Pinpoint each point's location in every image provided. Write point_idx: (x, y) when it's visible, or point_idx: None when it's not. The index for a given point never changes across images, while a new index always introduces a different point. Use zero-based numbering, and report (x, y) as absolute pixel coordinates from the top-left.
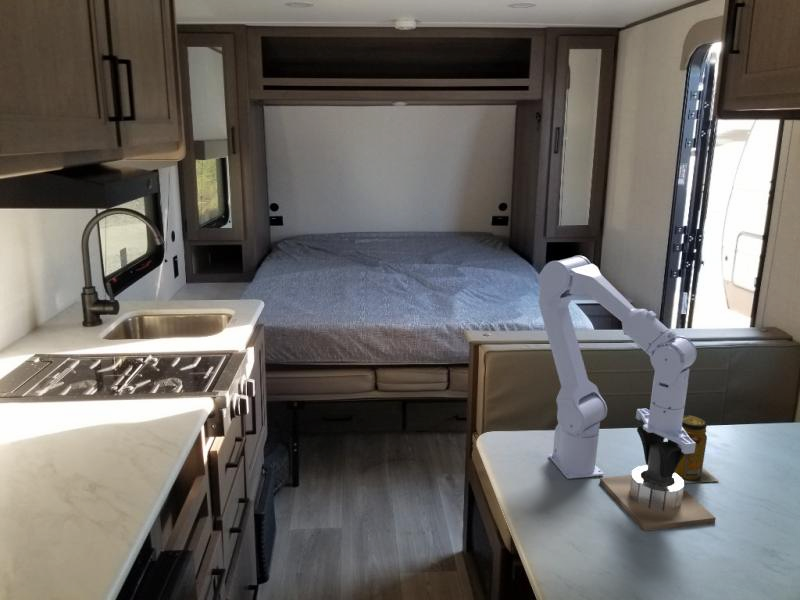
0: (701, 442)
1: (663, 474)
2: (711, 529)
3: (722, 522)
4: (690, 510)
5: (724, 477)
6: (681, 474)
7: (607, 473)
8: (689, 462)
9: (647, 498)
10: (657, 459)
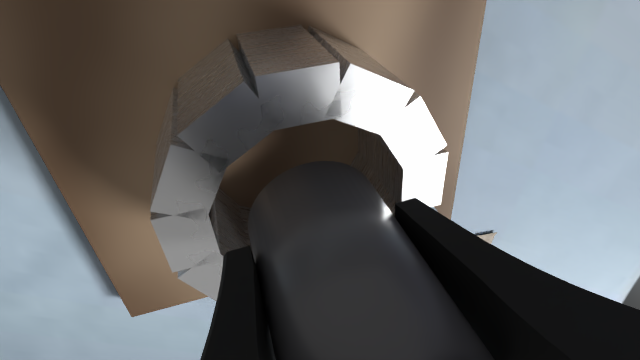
0: None
1: (222, 274)
2: (80, 281)
3: (141, 318)
4: None
5: None
6: None
7: (532, 4)
8: None
9: (188, 93)
10: (303, 324)
